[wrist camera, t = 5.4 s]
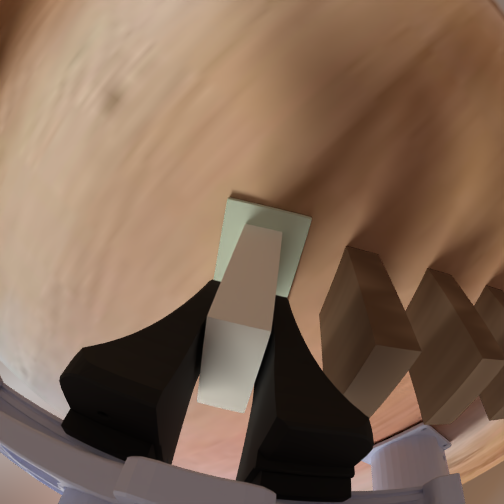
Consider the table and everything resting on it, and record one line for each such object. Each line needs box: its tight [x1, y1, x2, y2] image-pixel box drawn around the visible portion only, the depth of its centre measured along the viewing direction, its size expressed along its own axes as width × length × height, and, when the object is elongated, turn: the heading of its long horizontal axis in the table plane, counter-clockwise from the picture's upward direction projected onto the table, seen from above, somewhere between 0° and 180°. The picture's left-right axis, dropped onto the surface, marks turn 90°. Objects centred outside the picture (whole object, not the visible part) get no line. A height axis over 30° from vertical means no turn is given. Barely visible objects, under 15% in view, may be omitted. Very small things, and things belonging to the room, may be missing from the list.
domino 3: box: [405, 268, 504, 425], centre depth 12 cm, size 2×4×7 cm, turn 168°
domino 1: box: [197, 224, 282, 413], centre depth 12 cm, size 2×4×7 cm, turn 169°
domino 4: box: [474, 286, 504, 421], centre depth 12 cm, size 2×4×7 cm, turn 168°
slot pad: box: [214, 197, 312, 297], centre depth 15 cm, size 4×6×1 cm, turn 169°
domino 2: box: [319, 246, 422, 418], centre depth 12 cm, size 2×4×7 cm, turn 169°
